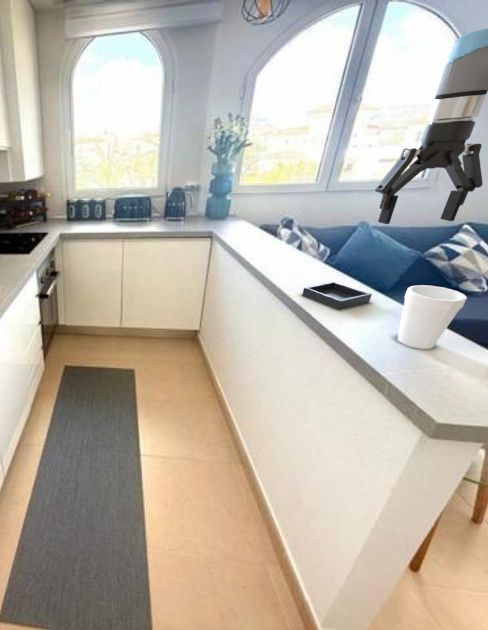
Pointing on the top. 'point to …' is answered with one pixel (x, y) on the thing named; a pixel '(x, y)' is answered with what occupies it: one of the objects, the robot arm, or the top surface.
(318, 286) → the dark grey square tray
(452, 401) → the top surface
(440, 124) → the robot arm
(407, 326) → the foam cup
